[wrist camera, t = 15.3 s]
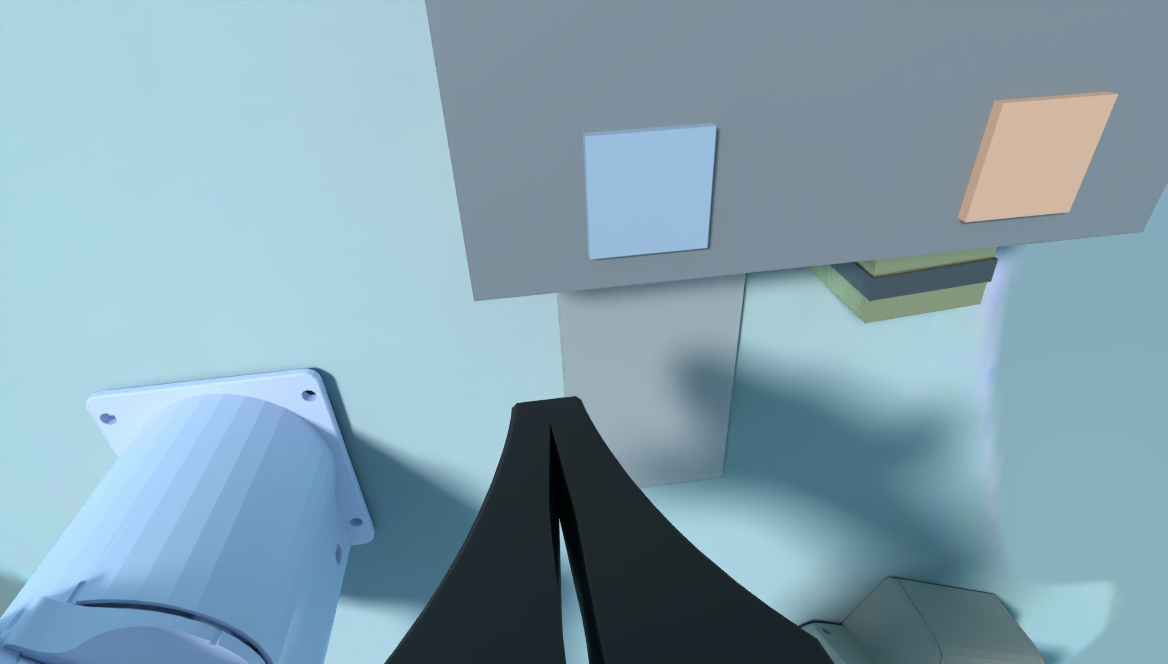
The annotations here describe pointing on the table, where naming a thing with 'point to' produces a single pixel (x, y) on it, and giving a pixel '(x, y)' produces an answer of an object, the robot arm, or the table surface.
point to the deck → (656, 371)
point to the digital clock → (926, 628)
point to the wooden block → (910, 283)
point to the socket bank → (790, 131)
